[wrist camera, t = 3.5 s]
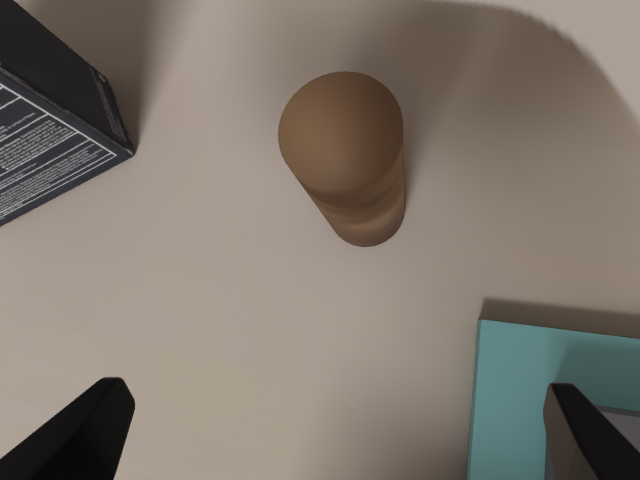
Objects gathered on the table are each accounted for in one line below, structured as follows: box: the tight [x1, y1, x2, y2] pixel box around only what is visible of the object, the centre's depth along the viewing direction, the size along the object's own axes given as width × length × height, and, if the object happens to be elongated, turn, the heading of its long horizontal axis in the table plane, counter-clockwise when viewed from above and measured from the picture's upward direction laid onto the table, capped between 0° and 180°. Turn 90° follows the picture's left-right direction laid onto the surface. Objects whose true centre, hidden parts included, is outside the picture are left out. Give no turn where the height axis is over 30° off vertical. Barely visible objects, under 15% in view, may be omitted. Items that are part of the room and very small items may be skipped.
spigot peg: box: [278, 72, 405, 247], centre depth 20 cm, size 4×4×10 cm
